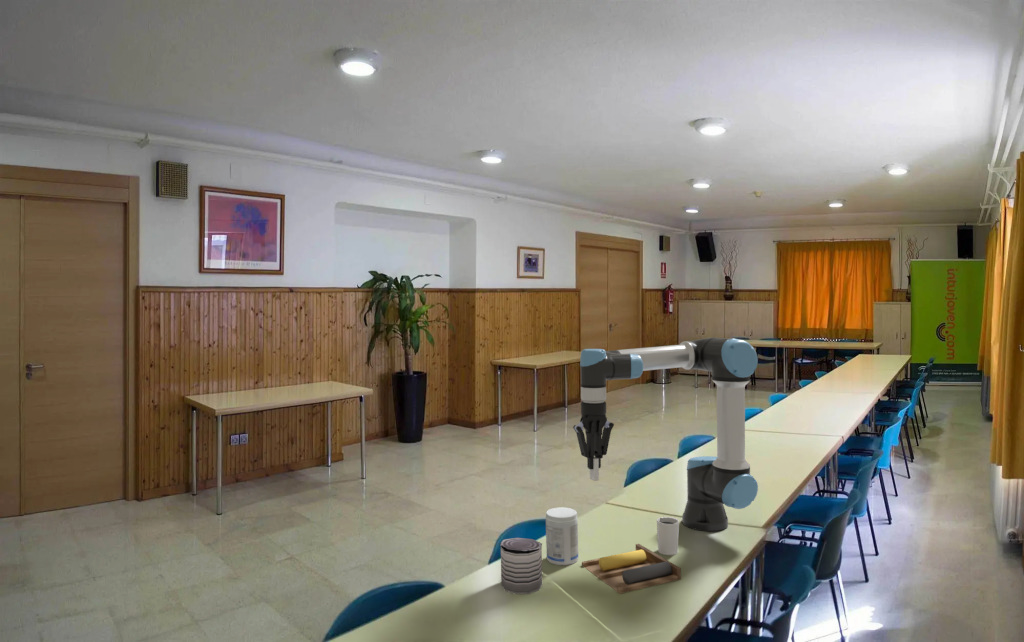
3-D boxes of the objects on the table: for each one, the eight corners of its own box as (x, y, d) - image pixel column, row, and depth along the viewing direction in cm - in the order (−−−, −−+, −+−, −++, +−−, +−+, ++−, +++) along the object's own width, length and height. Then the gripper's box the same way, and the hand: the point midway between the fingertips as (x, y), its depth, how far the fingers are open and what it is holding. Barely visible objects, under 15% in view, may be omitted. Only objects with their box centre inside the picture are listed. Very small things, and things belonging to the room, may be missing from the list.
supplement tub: (570, 552, 201) (569, 505, 201) (583, 563, 192) (583, 514, 192) (541, 556, 198) (540, 509, 197) (553, 569, 189) (553, 519, 188)
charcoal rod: (663, 571, 185) (663, 559, 185) (671, 577, 181) (671, 564, 181) (622, 581, 179) (622, 568, 179) (629, 586, 176) (629, 573, 176)
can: (492, 583, 180) (492, 541, 179) (524, 572, 187) (524, 531, 186) (518, 598, 171) (517, 553, 170) (551, 586, 178) (550, 543, 177)
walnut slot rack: (638, 554, 198) (638, 543, 198) (680, 580, 180) (680, 568, 180) (581, 566, 190) (581, 555, 190) (619, 594, 172) (619, 582, 172)
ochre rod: (642, 563, 192) (637, 551, 194) (647, 559, 190) (643, 547, 192) (601, 572, 187) (597, 560, 189) (606, 568, 184) (602, 555, 186)
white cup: (679, 557, 196) (679, 524, 195) (657, 556, 197) (656, 523, 197) (678, 549, 202) (678, 517, 202) (656, 547, 204) (656, 516, 203)
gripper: (605, 397, 199) (606, 473, 200) (568, 400, 194) (569, 479, 195) (619, 401, 192) (619, 479, 193) (580, 404, 187) (581, 485, 188)
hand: (594, 479), depth 194 cm, fingers closed
